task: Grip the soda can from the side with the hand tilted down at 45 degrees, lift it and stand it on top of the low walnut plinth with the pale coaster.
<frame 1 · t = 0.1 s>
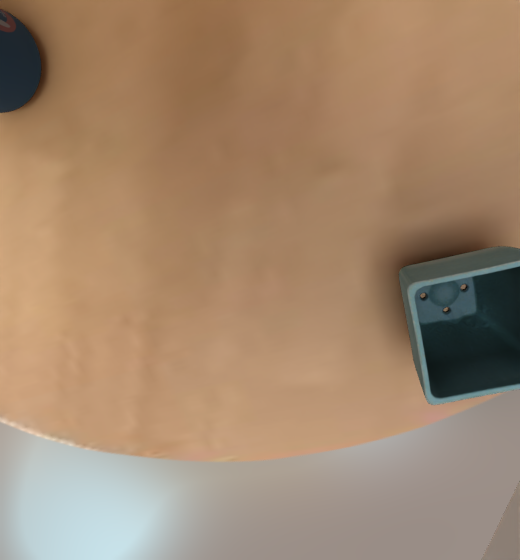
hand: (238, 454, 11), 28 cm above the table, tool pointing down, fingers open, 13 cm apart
flower pot: (440, 290, 39), on the table
soda can: (4, 64, 35), on the table
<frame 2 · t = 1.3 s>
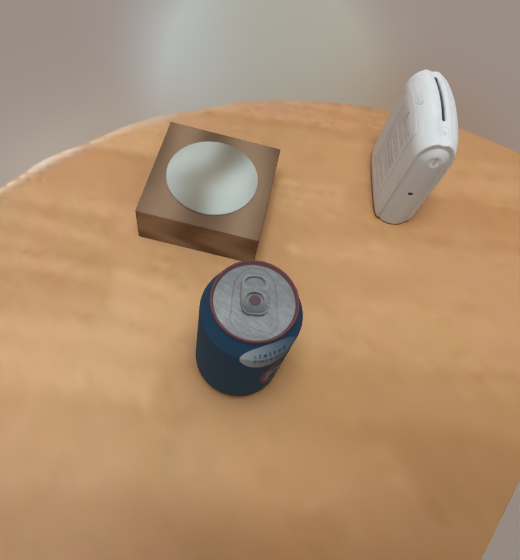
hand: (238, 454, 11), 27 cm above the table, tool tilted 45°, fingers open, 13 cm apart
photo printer: (387, 188, 52), on the table
plinth: (210, 204, 48), on the table
soda can: (236, 359, 41), on the table
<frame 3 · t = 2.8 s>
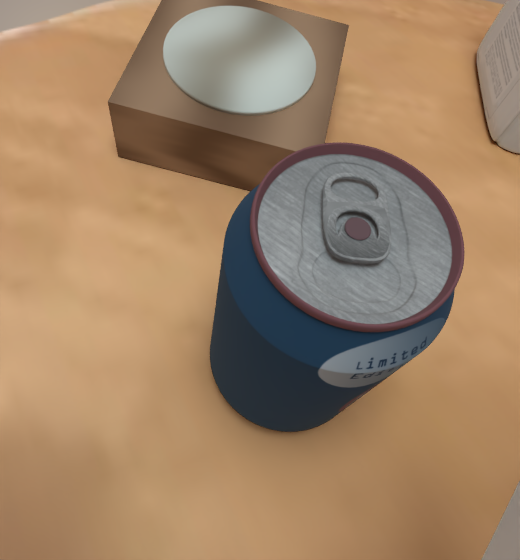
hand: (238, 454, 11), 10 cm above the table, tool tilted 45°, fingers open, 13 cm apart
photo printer: (503, 103, 34), on the table
plinth: (234, 114, 30), on the table
soda can: (280, 363, 23), on the table
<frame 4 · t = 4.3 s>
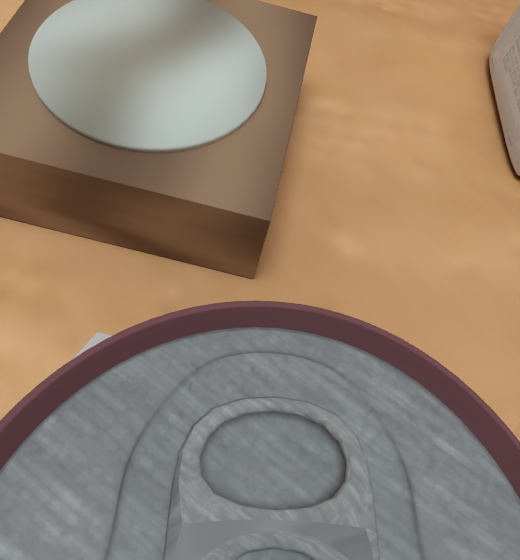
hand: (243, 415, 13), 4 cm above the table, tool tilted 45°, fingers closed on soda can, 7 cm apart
plinth: (157, 142, 21), on the table
soda can: (205, 557, 14), on the table, touching gripper
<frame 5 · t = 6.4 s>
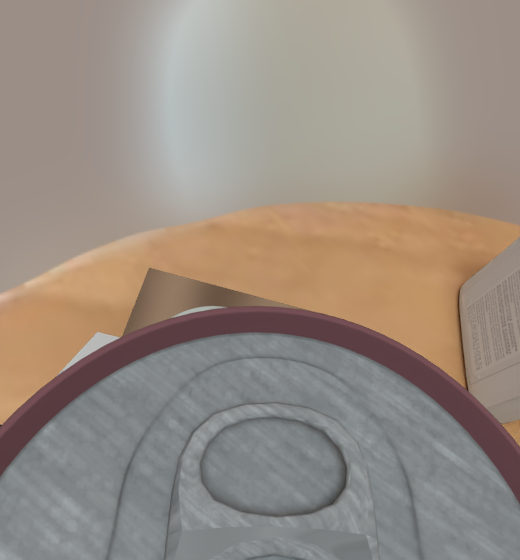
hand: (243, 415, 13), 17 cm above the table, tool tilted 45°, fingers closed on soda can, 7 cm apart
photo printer: (485, 352, 34), on the table
plinth: (210, 396, 30), on the table
soda can: (205, 559, 14), point 13 cm above the table, touching gripper
when the fingers open (9 cm above the table, at t = 8.6 s): soda can drops 1 cm, resting on plinth.
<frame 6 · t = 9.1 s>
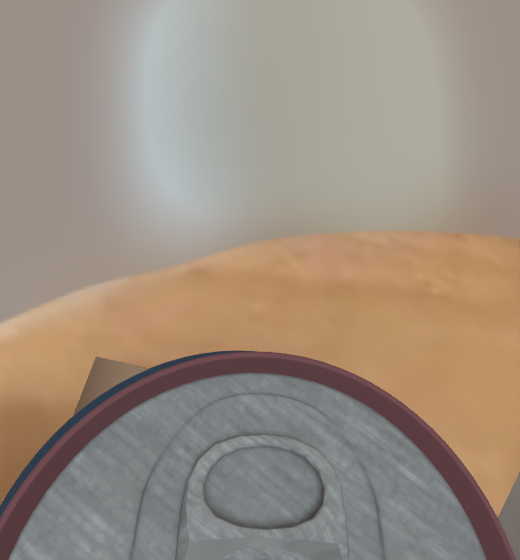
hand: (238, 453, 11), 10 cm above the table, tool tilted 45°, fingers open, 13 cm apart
plinth: (198, 550, 19), on the table
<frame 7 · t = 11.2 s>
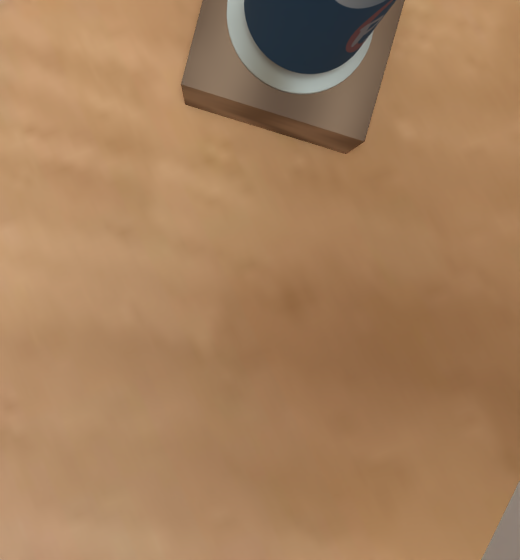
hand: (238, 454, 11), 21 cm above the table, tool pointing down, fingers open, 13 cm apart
plinth: (289, 46, 31), on the table
soda can: (303, 20, 27), point 4 cm above the table, touching plinth
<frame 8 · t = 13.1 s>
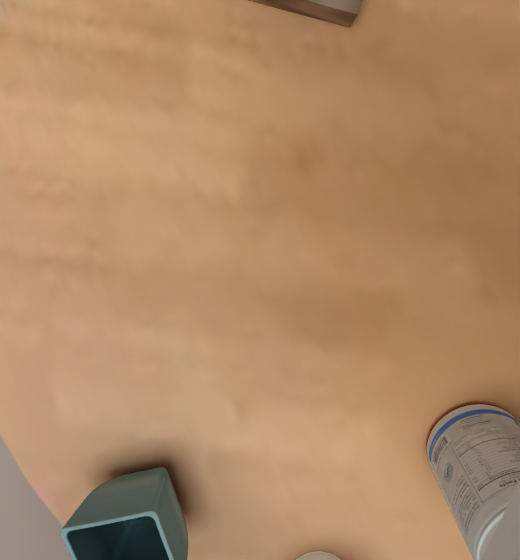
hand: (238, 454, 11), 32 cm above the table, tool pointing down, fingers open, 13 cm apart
supplement tub: (471, 441, 47), on the table
flower pot: (149, 487, 50), on the table
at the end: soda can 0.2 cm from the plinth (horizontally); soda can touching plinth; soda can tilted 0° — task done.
